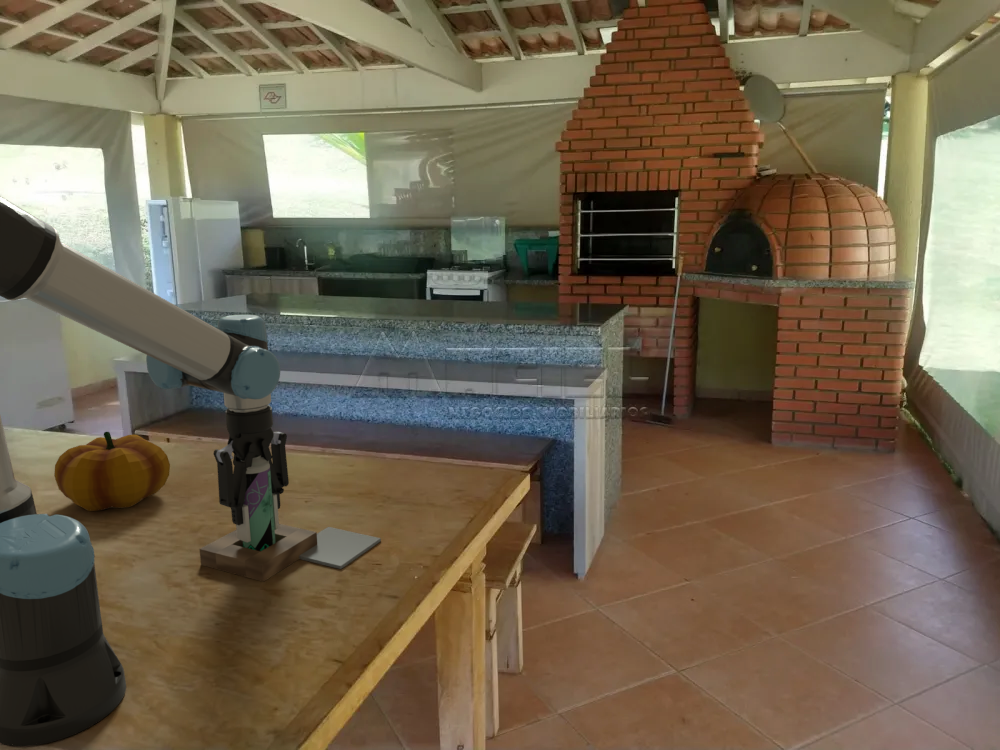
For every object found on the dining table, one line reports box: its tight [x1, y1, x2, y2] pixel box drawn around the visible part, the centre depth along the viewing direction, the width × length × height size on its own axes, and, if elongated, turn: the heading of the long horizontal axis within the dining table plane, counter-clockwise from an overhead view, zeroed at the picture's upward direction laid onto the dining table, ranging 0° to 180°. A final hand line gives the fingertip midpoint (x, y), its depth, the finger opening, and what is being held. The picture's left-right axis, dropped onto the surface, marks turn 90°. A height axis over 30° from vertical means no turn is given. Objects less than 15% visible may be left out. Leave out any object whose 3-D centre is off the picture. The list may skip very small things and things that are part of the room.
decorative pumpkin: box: [53, 431, 171, 512], centre depth 157 cm, size 20×22×15 cm
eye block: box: [198, 523, 318, 582], centre depth 133 cm, size 14×14×3 cm
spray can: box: [241, 455, 276, 552], centre depth 131 cm, size 6×6×20 cm
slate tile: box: [298, 526, 382, 570], centre depth 136 cm, size 12×12×1 cm
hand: (258, 533), depth 132 cm, fingers closed on spray can, 5 cm apart
